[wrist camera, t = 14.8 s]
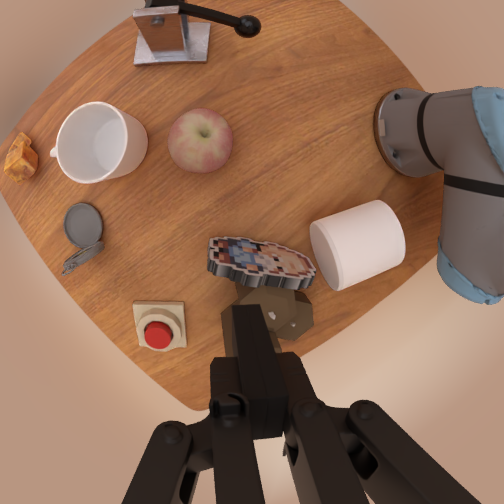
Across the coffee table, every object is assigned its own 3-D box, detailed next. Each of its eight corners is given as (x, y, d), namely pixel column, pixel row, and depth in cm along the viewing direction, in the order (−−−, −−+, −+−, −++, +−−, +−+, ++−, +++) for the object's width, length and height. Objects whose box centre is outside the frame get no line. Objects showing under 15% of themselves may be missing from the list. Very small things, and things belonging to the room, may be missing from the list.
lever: (250, 24, 26) (267, 16, 24) (249, 43, 27) (266, 36, 25) (145, -2, 18) (157, -16, 15) (140, 20, 19) (151, 6, 16)
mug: (72, 125, 30) (32, 118, 20) (149, 111, 32) (128, 94, 22) (73, 182, 33) (34, 192, 23) (150, 173, 35) (129, 178, 25)
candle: (254, 355, 47) (271, 421, 33) (196, 308, 42) (195, 375, 28) (315, 306, 45) (355, 362, 31) (264, 249, 41) (294, 297, 27)
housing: (183, 301, 42) (182, 311, 39) (187, 343, 44) (186, 354, 41) (133, 300, 40) (129, 310, 37) (140, 342, 43) (137, 352, 40)
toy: (207, 241, 39) (207, 280, 30) (209, 231, 38) (209, 269, 30) (299, 256, 42) (321, 295, 33) (302, 247, 42) (325, 285, 33)
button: (170, 321, 39) (169, 327, 38) (172, 342, 41) (171, 349, 39) (144, 320, 39) (142, 327, 37) (148, 342, 40) (146, 348, 38)
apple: (239, 158, 36) (247, 157, 29) (187, 182, 36) (181, 188, 29) (215, 106, 33) (217, 92, 26) (163, 130, 33) (151, 123, 26)
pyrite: (22, 155, 31) (40, 142, 31) (19, 186, 29) (37, 172, 29) (6, 139, 26) (24, 124, 27) (-1, 169, 24) (17, 153, 25)
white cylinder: (341, 262, 30) (412, 233, 30) (306, 207, 37) (370, 186, 37) (336, 312, 40) (393, 286, 40) (311, 262, 46) (363, 242, 46)
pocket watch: (77, 193, 34) (42, 206, 24) (121, 224, 36) (96, 245, 27) (57, 239, 35) (23, 262, 26) (98, 268, 38) (72, 299, 28)
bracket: (210, 25, 29) (214, -27, 16) (206, 63, 31) (207, 18, 18) (141, 29, 27) (117, -19, 14) (135, 66, 29) (103, 27, 17)
